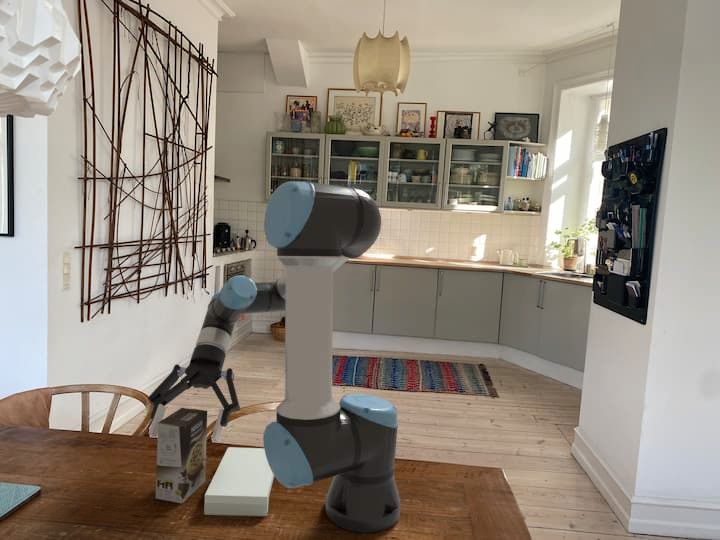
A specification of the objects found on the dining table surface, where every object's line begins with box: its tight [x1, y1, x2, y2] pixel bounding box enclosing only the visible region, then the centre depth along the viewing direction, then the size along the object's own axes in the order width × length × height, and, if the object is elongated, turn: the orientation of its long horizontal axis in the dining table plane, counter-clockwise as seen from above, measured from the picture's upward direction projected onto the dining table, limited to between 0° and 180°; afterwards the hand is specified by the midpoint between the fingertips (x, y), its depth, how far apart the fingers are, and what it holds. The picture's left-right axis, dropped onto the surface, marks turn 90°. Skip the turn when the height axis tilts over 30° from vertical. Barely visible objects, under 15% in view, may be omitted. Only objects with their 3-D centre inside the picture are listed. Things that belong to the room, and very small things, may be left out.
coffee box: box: [155, 407, 208, 504], centre depth 101 cm, size 9×6×16 cm
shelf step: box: [203, 446, 275, 517], centre depth 103 cm, size 12×20×4 cm, turn 3°
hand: (183, 438), depth 103 cm, fingers open, 13 cm apart
